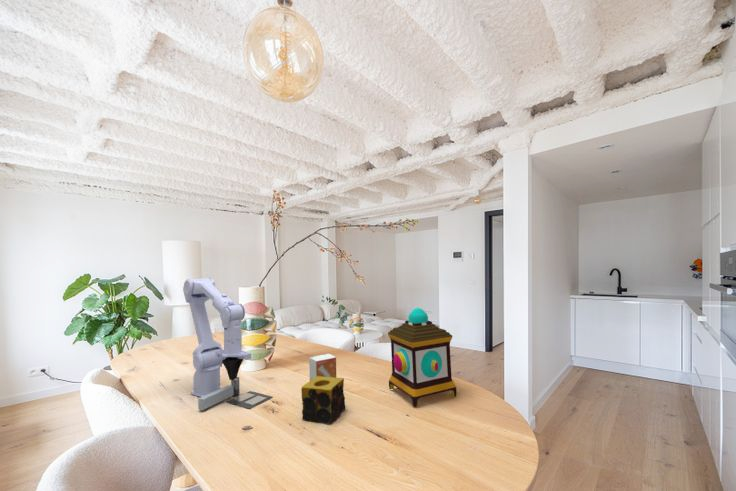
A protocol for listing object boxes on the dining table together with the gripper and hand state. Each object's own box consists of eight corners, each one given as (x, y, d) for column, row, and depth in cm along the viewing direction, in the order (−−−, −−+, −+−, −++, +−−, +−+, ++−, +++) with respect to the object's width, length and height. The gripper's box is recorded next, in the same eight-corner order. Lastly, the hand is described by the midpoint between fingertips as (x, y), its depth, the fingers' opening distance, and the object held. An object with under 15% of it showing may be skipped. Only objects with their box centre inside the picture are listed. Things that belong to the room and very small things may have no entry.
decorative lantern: (412, 411, 95) (408, 313, 97) (383, 389, 113) (380, 307, 115) (463, 398, 103) (458, 308, 105) (428, 379, 121) (425, 302, 123)
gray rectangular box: (228, 394, 111) (228, 385, 111) (233, 395, 110) (233, 385, 110) (198, 408, 100) (198, 398, 101) (203, 409, 99) (203, 399, 100)
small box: (316, 399, 106) (315, 361, 107) (309, 393, 111) (308, 357, 112) (337, 393, 111) (336, 356, 111) (329, 388, 116) (328, 353, 117)
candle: (346, 409, 98) (345, 377, 99) (332, 425, 88) (331, 390, 89) (317, 406, 101) (317, 375, 102) (301, 421, 92) (300, 386, 92)
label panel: (226, 402, 106) (226, 400, 106) (250, 391, 115) (250, 390, 115) (249, 409, 100) (249, 407, 100) (272, 397, 109) (272, 396, 109)
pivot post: (229, 395, 112) (229, 379, 112) (236, 393, 114) (236, 376, 115) (234, 397, 110) (234, 380, 111) (241, 394, 113) (241, 377, 113)
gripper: (208, 341, 107) (208, 381, 106) (240, 343, 102) (240, 385, 101) (224, 336, 113) (224, 374, 112) (255, 338, 108) (255, 378, 107)
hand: (233, 379), depth 107 cm, fingers closed
